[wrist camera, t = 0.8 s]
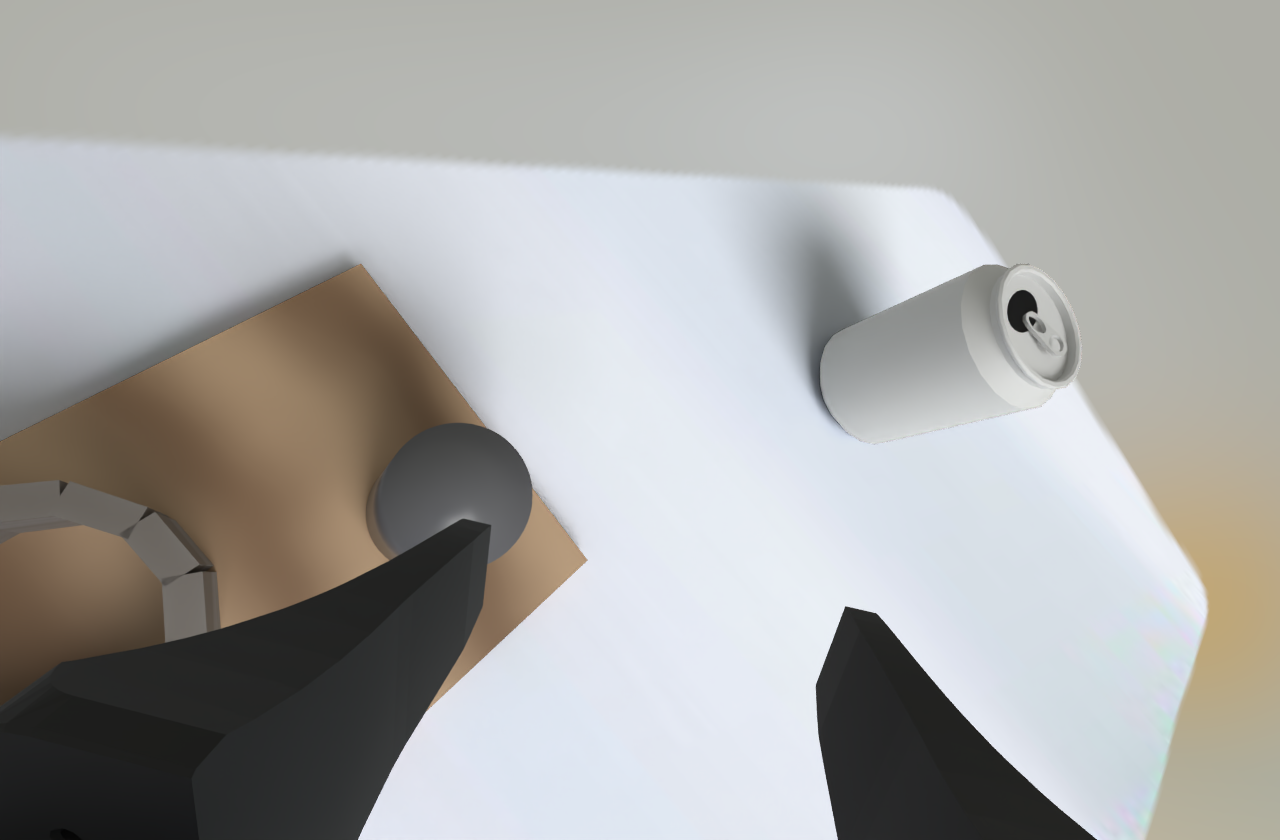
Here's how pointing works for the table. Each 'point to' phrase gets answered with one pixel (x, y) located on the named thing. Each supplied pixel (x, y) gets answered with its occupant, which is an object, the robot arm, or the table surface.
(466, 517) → the dark gray cylinder
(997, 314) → the can
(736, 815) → the table surface
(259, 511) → the barrel mount
